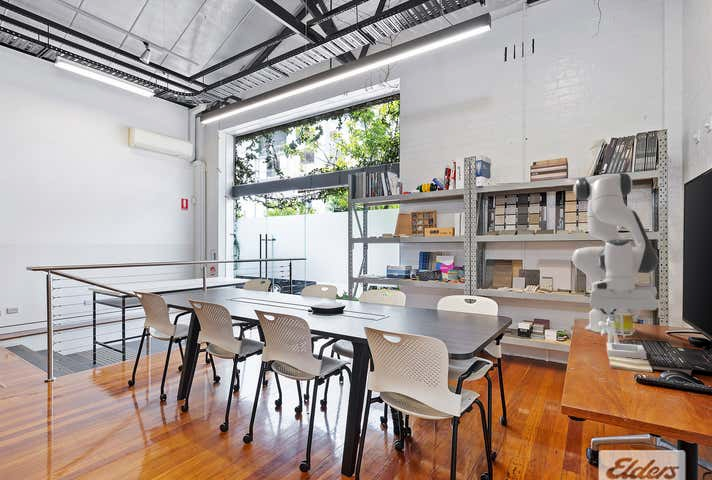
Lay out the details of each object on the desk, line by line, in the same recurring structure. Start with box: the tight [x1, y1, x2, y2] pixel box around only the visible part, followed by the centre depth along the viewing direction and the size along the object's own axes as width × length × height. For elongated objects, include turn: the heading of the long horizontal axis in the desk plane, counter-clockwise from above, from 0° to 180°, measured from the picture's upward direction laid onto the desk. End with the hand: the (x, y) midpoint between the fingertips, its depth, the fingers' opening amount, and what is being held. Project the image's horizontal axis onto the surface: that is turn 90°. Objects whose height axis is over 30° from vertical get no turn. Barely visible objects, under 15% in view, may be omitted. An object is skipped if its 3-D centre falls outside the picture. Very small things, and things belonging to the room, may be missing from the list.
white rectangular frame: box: [606, 342, 648, 360], centre depth 136 cm, size 11×11×2 cm
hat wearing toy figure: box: [599, 318, 626, 344], centre depth 149 cm, size 9×4×12 cm, turn 66°
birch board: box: [608, 357, 653, 373], centre depth 125 cm, size 11×11×1 cm
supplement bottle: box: [614, 307, 634, 337], centre depth 137 cm, size 6×6×10 cm
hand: (623, 321), depth 137 cm, fingers closed on supplement bottle, 6 cm apart
